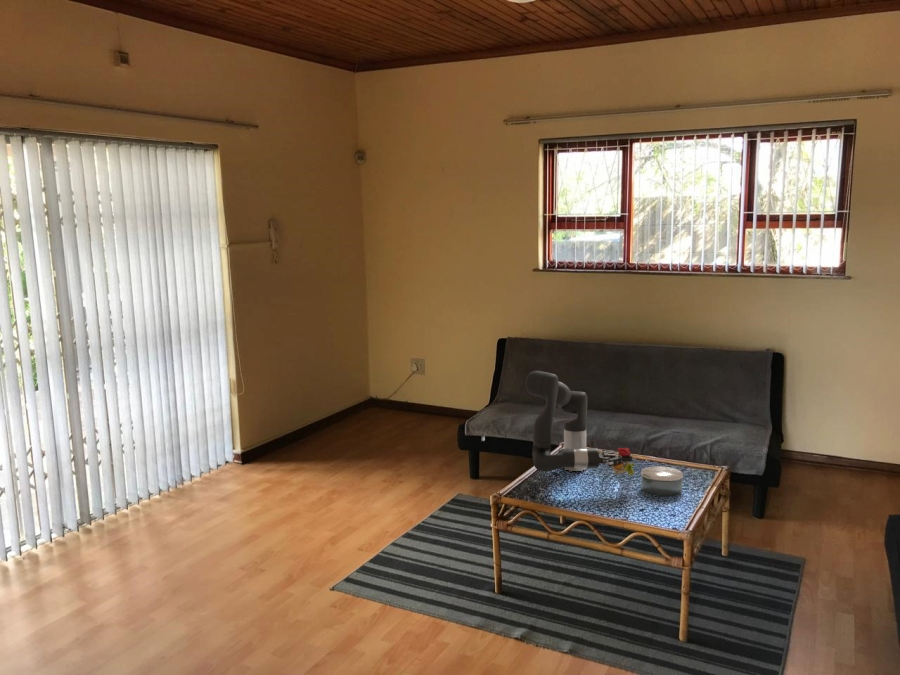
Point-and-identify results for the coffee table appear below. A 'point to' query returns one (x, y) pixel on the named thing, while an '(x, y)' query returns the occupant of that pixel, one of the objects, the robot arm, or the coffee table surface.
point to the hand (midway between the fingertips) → (630, 457)
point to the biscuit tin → (661, 481)
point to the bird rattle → (627, 466)
